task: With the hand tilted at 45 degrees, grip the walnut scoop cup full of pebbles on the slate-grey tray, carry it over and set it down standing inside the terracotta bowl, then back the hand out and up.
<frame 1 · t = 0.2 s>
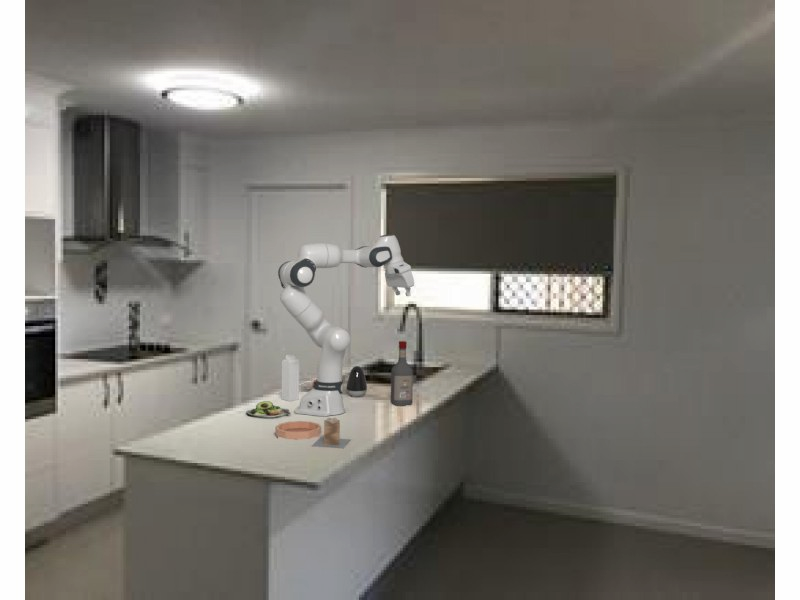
hand: (403, 295, 311), 52 cm above the worktop, tool tilted 20°, fingers open, 8 cm apart
salad plate: (267, 415, 290), on the worktop
black egg-shaped dome: (356, 396, 331), on the worktop
bowl: (298, 435, 255), on the worktop
parts tray: (331, 445, 243), on the worktop
liquor: (401, 404, 315), on the worktop
milk: (290, 399, 319), on the worktop
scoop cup: (331, 442, 243), point 1 cm above the worktop, touching parts tray
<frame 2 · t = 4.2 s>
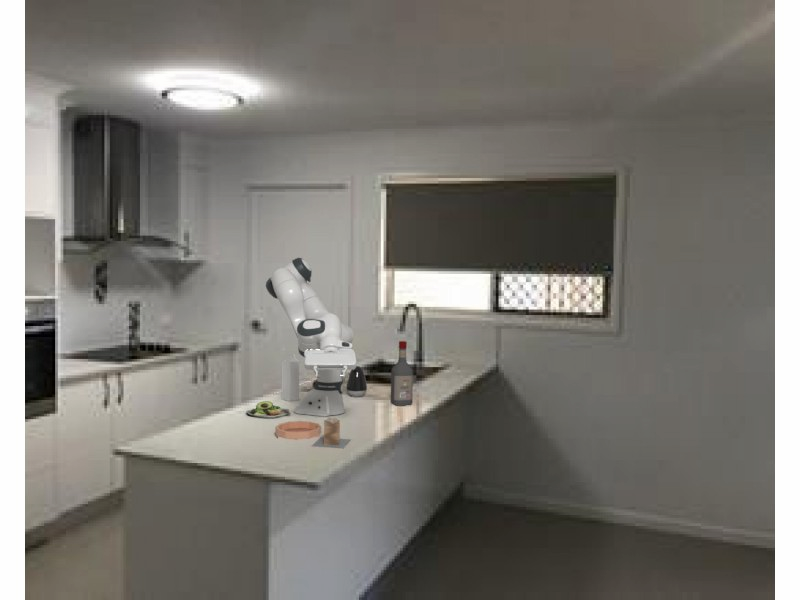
hand: (330, 377, 254), 23 cm above the worktop, tool tilted 45°, fingers open, 8 cm apart
nothing on the worktop moved.
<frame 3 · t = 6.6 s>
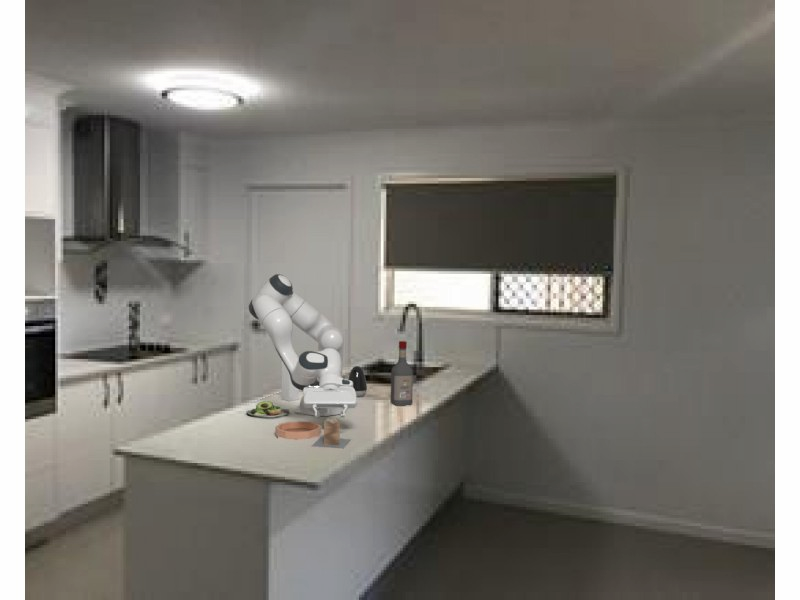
hand: (329, 416, 247), 10 cm above the worktop, tool tilted 45°, fingers open, 8 cm apart
nothing on the worktop moved.
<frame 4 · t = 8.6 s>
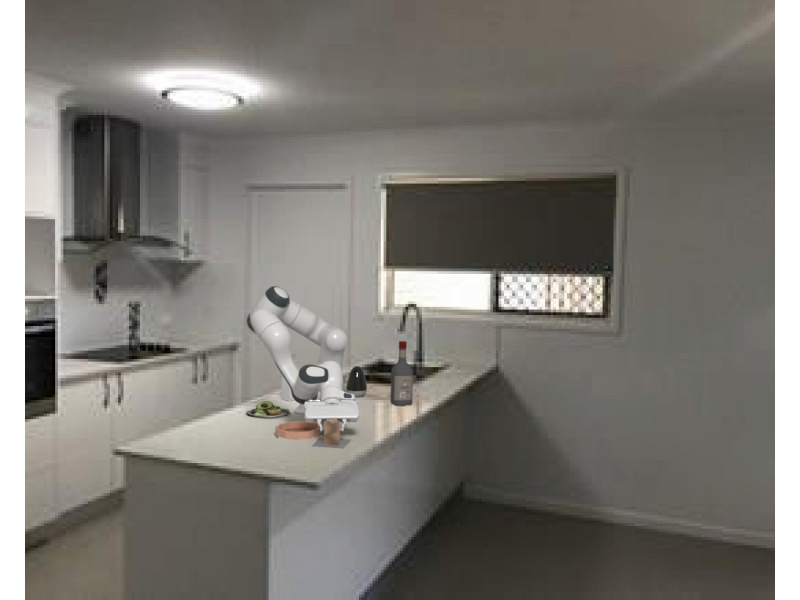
hand: (331, 431, 242), 5 cm above the worktop, tool tilted 45°, fingers closed on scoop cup, 6 cm apart
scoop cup: (331, 442, 243), point 1 cm above the worktop, touching gripper, parts tray
everything else where it was.
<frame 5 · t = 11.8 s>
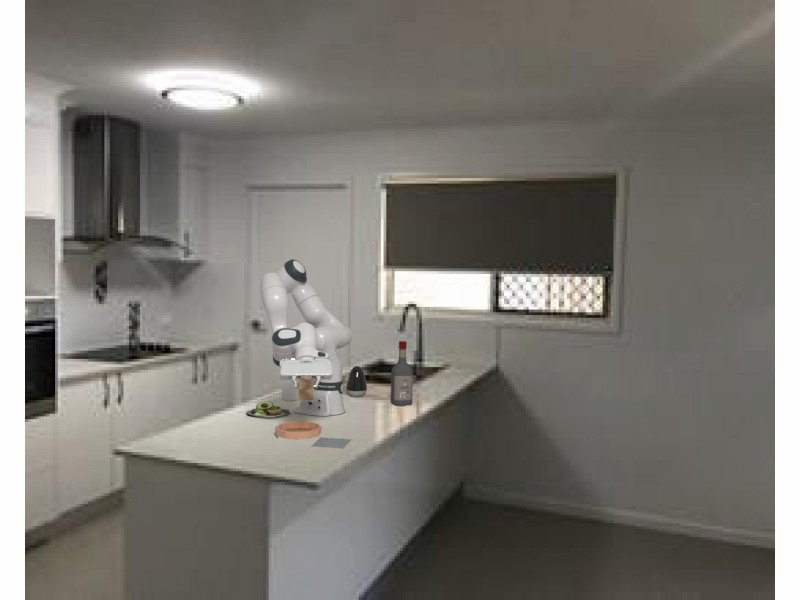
hand: (306, 387, 252), 19 cm above the worktop, tool tilted 45°, fingers closed on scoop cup, 6 cm apart
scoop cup: (306, 398, 253), point 15 cm above the worktop, touching gripper
everything else where it was.
when the fingers open (8 cm above the worktop, at t = 15.2 s): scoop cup drops 2 cm, resting on bowl.
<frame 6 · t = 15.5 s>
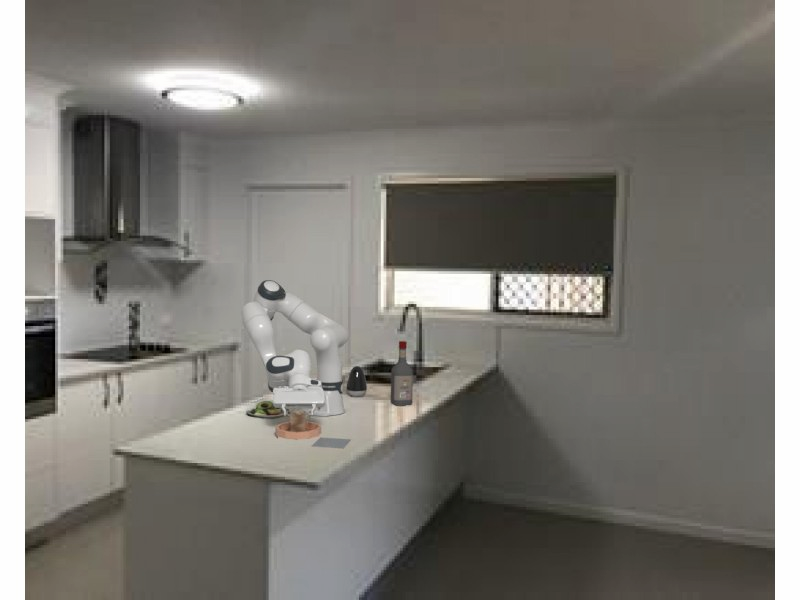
hand: (298, 415, 254), 8 cm above the worktop, tool tilted 45°, fingers open, 8 cm apart
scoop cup: (298, 433, 255), point 1 cm above the worktop, touching bowl
everything else where it was.
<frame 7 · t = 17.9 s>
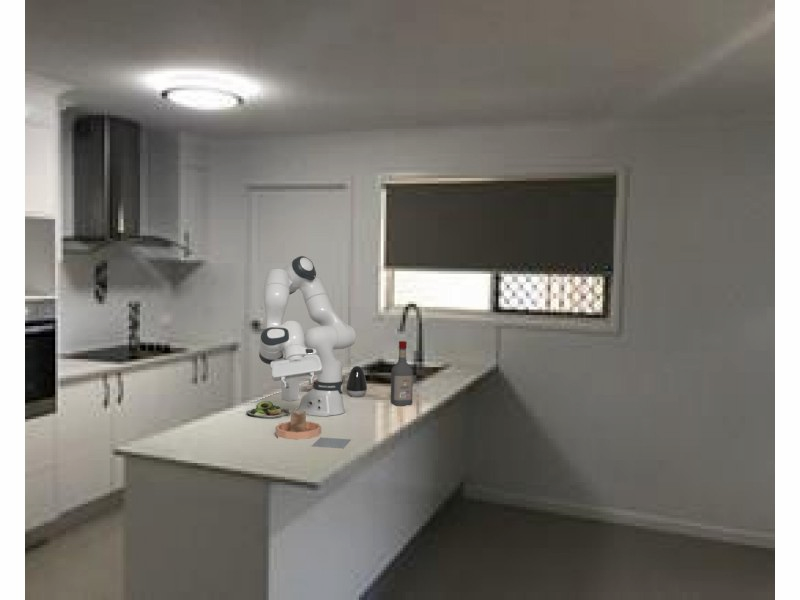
hand: (299, 386, 261), 18 cm above the worktop, tool tilted 40°, fingers open, 8 cm apart
nothing on the worktop moved.
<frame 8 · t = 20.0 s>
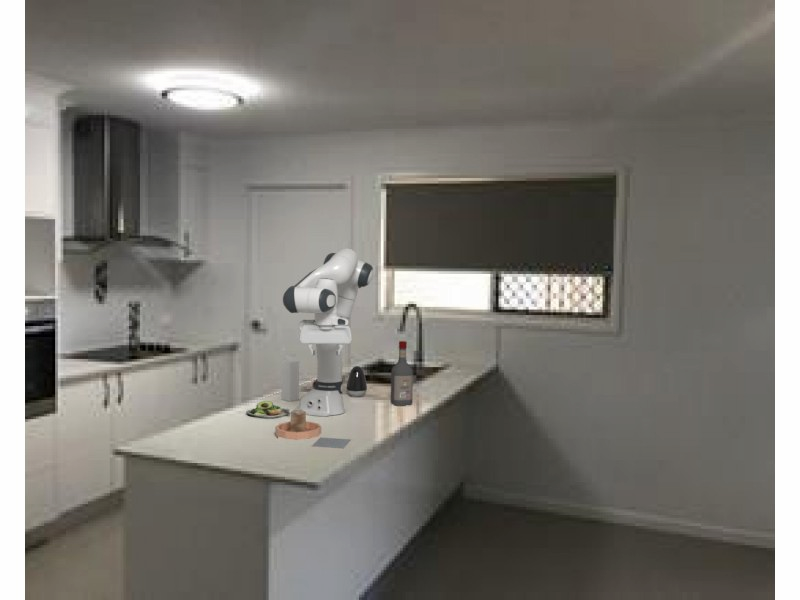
hand: (325, 355, 257), 31 cm above the worktop, tool pointing down, fingers open, 8 cm apart
nothing on the worktop moved.
at the end: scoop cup inside the target area on the bowl (0.1 cm from its centre), point 1.0 cm above the bowl's base; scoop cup tilted 0°; the gripper is holding nothing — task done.
